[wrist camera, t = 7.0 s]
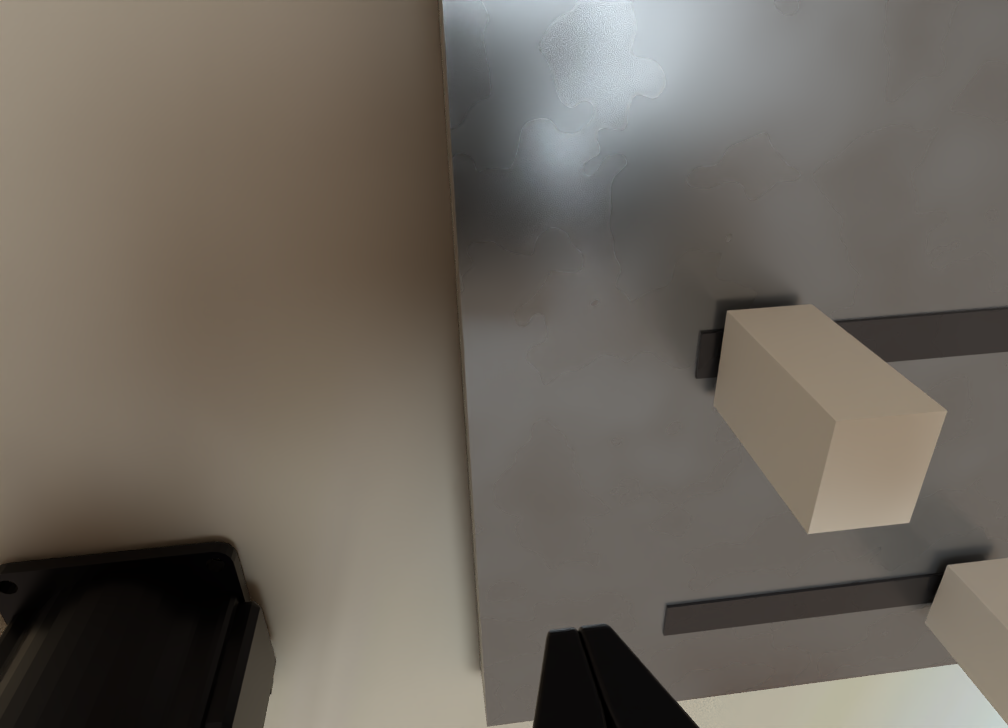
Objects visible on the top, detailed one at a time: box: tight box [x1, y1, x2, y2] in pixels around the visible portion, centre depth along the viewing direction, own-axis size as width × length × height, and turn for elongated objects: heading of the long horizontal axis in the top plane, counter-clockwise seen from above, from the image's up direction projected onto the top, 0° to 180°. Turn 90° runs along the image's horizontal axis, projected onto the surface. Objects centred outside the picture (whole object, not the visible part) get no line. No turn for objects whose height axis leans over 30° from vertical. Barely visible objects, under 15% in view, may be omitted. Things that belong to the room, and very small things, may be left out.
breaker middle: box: [713, 304, 947, 534], centre depth 14 cm, size 2×2×4 cm
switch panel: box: [438, 0, 1008, 727], centre depth 18 cm, size 22×26×2 cm
